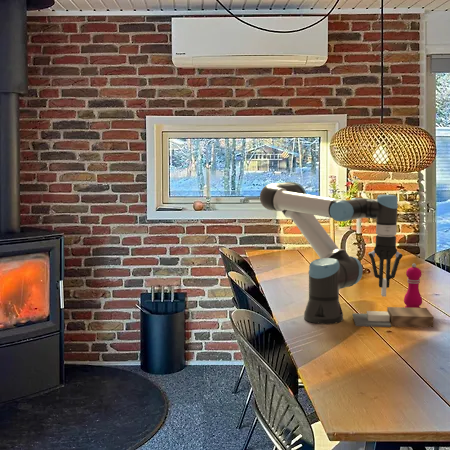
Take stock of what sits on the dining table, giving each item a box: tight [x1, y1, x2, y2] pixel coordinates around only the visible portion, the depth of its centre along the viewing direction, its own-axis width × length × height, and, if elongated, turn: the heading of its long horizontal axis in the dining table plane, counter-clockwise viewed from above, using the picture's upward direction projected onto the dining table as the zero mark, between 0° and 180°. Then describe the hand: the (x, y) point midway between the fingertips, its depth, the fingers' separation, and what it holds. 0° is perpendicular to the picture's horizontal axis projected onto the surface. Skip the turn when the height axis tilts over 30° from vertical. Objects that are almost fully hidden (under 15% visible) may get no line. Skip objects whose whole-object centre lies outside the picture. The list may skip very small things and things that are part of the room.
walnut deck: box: [386, 306, 434, 328], centre depth 231 cm, size 15×13×4 cm
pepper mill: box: [403, 263, 423, 308], centre depth 245 cm, size 7×7×20 cm
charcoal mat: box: [352, 312, 392, 328], centre depth 233 cm, size 13×15×1 cm
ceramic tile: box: [366, 310, 390, 322], centre depth 232 cm, size 8×6×2 cm
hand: (383, 295), depth 231 cm, fingers closed
